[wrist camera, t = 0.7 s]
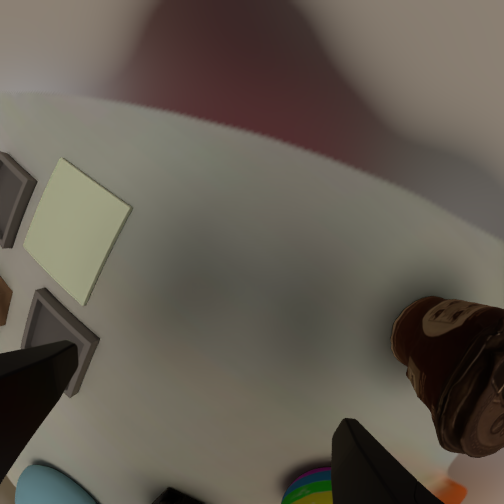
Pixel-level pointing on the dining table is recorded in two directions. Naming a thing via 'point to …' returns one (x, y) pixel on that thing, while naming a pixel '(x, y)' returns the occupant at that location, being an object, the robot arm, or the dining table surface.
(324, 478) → the decorative egg
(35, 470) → the sugar bowl
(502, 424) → the coffee cup
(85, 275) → the pad
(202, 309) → the dining table surface
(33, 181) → the tray
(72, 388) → the tray
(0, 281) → the walnut block
